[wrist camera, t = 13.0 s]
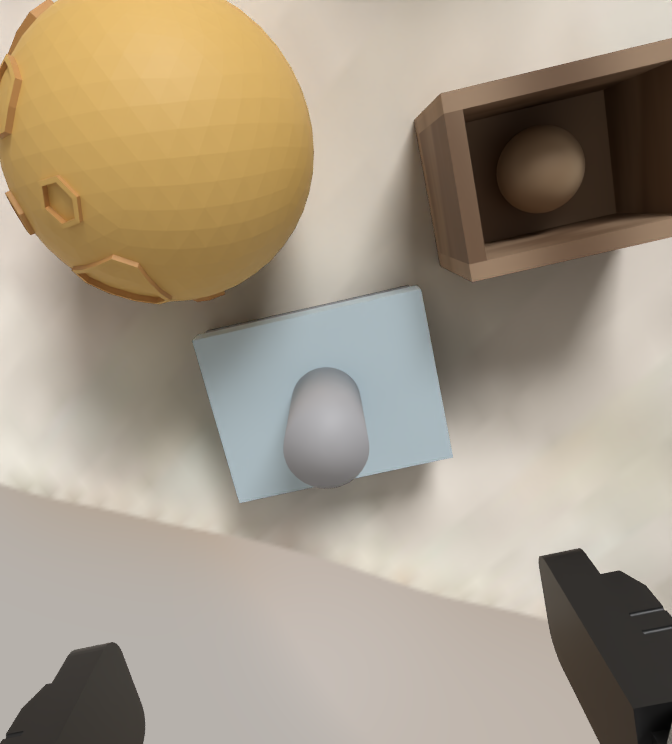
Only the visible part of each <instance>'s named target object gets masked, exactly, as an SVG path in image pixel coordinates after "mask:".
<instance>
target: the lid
mask: <svg viewBox="0 0 672 744" xmlns="http://www.w3.org/2000/svg"><path fill="white" fill-rule="evenodd" d="M192 342H193V346H194V349H195V352H196V356H197V359H198V363H199V366H200V370H201V373H202V376H203V380H204V383H205V387H206V390H207V394H208V397H209V400H210V404H211V407H212V411H213V414H214V418H215V421H216V424H217V428H218V431H219V435H220V438H221V442H222V445H223V448H224V452H225V455H226V459H227V462H228V466H229V469H230V472H231V476H232V479H233V483H234V486H235V490H236V493H237V496H238V500H239V503H242V502H247V501H252V500H256V499H261V498H266V497H270V496H275V495H280V494H284V493H289V492H293V491H298V490H303V489H307V488H312V487H318V488H335V487H339V486H342V485H344V484H347V483H348V482H350V481H352V480H353V479H354V478H359V477H363V476H368V475H373V474H377V473H382V472H387V471H391V470H396V469H401V468H405V467H410V466H415V465H419V464H424V463H429V462H433V461H438V460H443V459H447V458H452V457H453V455H452V449H451V444H450V439H449V434H448V428H447V423H446V418H445V413H444V407H443V402H442V397H441V391H440V386H439V381H438V376H437V370H436V365H435V360H434V355H433V349H432V344H431V339H430V334H429V328H428V323H427V318H426V312H425V307H424V302H423V297H422V291H421V288H419V287H418V286H417V285H415V286H411V287H407V288H402V289H398V290H393V291H389V292H385V293H380V294H376V295H371V296H367V297H363V298H358V299H354V300H349V301H345V302H340V303H336V304H332V305H327V306H323V307H318V308H314V309H310V310H305V311H301V312H296V313H292V314H288V315H283V316H279V317H274V318H270V319H265V320H261V321H257V322H252V323H248V324H243V325H239V326H235V327H230V328H226V329H221V330H217V331H213V332H208V333H204V334H199V335H197V336H196V337H195V338H194V339H193V340H192Z"/></svg>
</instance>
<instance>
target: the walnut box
mask: <svg viewBox="0 0 672 744" xmlns="http://www.w3.org/2000/svg"><path fill="white" fill-rule="evenodd" d="M414 123H415V129H416V134H417V140H418V145H419V151H420V156H421V162H422V167H423V173H424V179H425V184H426V190H427V195H428V201H429V206H430V212H431V217H432V223H433V228H434V234H435V240H436V245H437V251H438V256H439V262H440V266H441V267H443V268H445V269H447V270H449V271H451V272H453V273H455V274H457V275H459V276H461V277H463V278H465V279H467V280H469V281H471V282H475V281H479V280H484V279H488V278H493V277H497V276H502V275H506V274H510V273H515V272H519V271H524V270H528V269H532V268H537V267H541V266H546V265H550V264H555V263H559V262H563V261H568V260H572V259H577V258H581V257H585V256H590V255H594V254H599V253H603V252H608V251H612V250H616V249H621V248H625V247H630V246H634V245H639V244H643V243H647V242H652V241H656V240H661V239H665V238H669V237H672V38H670V39H666V40H662V41H658V42H654V43H649V44H645V45H641V46H637V47H633V48H628V49H624V50H620V51H616V52H612V53H608V54H603V55H599V56H595V57H591V58H587V59H583V60H578V61H574V62H570V63H566V64H562V65H558V66H553V67H549V68H545V69H541V70H537V71H532V72H528V73H524V74H520V75H516V76H512V77H507V78H503V79H499V80H495V81H491V82H487V83H482V84H478V85H474V86H470V87H466V88H462V89H457V90H453V91H449V92H445V93H441V94H440V95H439V96H438V97H437V98H436V99H435V100H434V101H433V102H432V103H431V104H430V105H429V106H428V107H427V108H426V109H425V110H424V111H423V112H422V113H421V114H420V115H419V116H418V117H417V118H416V119H415V120H414ZM538 125H553V126H557V127H560V128H562V129H565V130H566V131H568V132H569V133H571V134H572V135H573V136H574V137H575V138H576V140H577V141H578V142H579V144H580V145H581V148H582V150H583V153H584V157H585V173H584V177H583V180H582V183H581V185H580V187H579V189H578V190H577V192H576V193H575V194H574V196H573V197H572V198H571V199H570V200H569V201H568V202H566V203H565V204H564V205H562V206H561V207H559V208H557V209H555V210H553V211H549V212H545V213H528V212H524V211H521V210H519V209H517V208H515V207H514V206H512V205H511V204H510V203H509V202H508V201H507V200H506V199H505V198H504V196H503V195H502V193H501V191H500V189H499V186H498V182H497V175H496V174H497V164H498V160H499V157H500V155H501V153H502V151H503V149H504V147H505V146H506V145H507V143H508V142H509V141H510V140H511V139H512V138H513V137H514V136H515V135H517V134H518V133H520V132H521V131H523V130H525V129H527V128H530V127H533V126H538Z"/></svg>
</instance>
